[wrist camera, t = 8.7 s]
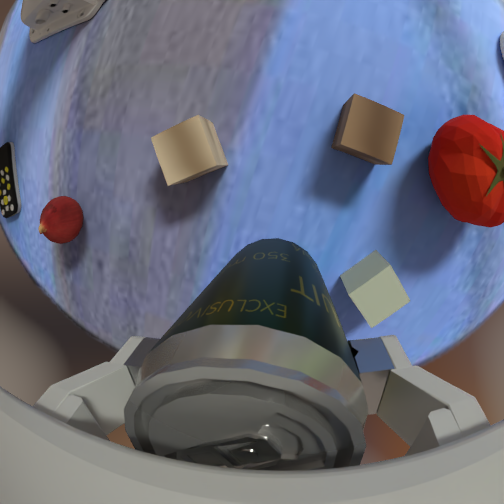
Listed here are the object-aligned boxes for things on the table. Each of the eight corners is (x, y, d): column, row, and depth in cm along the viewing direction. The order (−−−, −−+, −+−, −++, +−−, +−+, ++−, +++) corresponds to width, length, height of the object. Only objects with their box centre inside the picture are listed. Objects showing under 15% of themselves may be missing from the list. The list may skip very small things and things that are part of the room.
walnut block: (331, 147, 26) (340, 144, 21) (343, 104, 25) (354, 93, 20) (374, 164, 26) (391, 164, 21) (386, 122, 24) (404, 115, 20)
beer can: (256, 338, 17) (211, 515, 5) (210, 265, 16) (73, 391, 4) (335, 299, 16) (400, 473, 4) (291, 218, 15) (305, 289, 3)
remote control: (15, 139, 30) (7, 139, 28) (24, 210, 33) (16, 213, 31) (0, 151, 31) (-8, 152, 29) (8, 217, 34) (1, 220, 32)
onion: (60, 208, 32) (20, 221, 24) (81, 183, 30) (39, 192, 23) (79, 242, 33) (40, 261, 25) (101, 219, 31) (60, 235, 24)
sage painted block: (361, 305, 31) (371, 328, 26) (339, 275, 30) (348, 294, 25) (394, 281, 29) (410, 300, 25) (375, 249, 29) (390, 264, 24)
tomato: (497, 177, 23) (550, 187, 14) (449, 236, 27) (500, 266, 17) (447, 100, 22) (500, 84, 12) (393, 158, 25) (441, 158, 16)
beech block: (186, 182, 29) (168, 185, 24) (171, 141, 28) (150, 137, 23) (228, 165, 28) (216, 165, 23) (212, 122, 27) (198, 114, 22)
